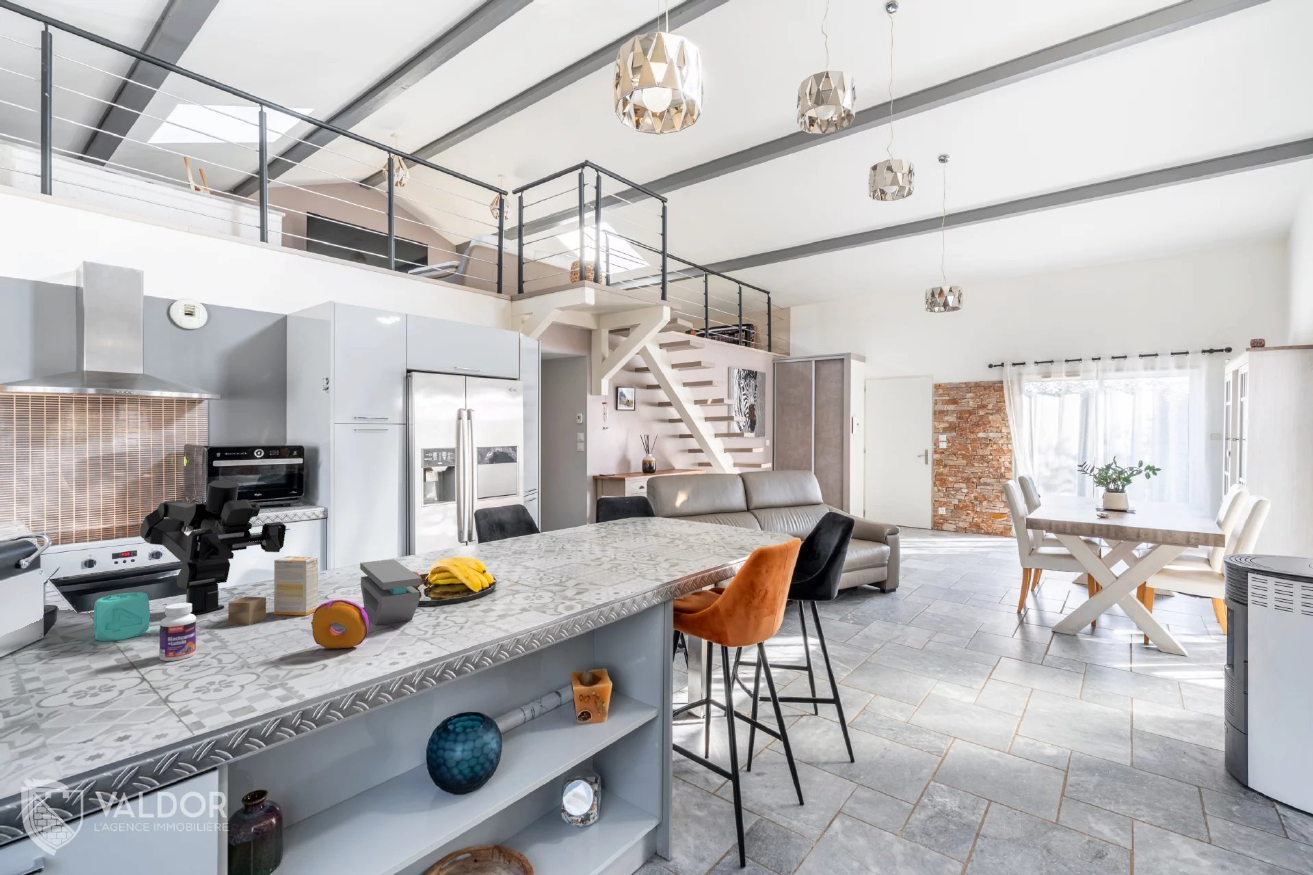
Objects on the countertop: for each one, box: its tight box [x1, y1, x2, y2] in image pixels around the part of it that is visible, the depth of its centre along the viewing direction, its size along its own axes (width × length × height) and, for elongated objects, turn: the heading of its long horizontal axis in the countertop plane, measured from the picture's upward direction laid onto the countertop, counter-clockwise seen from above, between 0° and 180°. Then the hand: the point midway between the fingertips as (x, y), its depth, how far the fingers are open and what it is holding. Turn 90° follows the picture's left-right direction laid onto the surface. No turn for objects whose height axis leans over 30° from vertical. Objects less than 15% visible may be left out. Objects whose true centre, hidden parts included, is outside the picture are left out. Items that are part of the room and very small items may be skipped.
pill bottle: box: [158, 602, 197, 662], centre depth 113 cm, size 5×5×10 cm
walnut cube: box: [227, 596, 267, 626], centre depth 135 cm, size 5×5×5 cm
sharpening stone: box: [359, 558, 422, 626], centre depth 140 cm, size 25×8×11 cm, turn 37°
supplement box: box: [273, 555, 319, 616], centre depth 142 cm, size 8×5×13 cm, turn 84°
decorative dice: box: [93, 591, 151, 642], centre depth 125 cm, size 8×8×8 cm
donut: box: [310, 599, 370, 650], centre depth 118 cm, size 8×9×10 cm
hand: (256, 553), depth 129 cm, fingers open, 9 cm apart
